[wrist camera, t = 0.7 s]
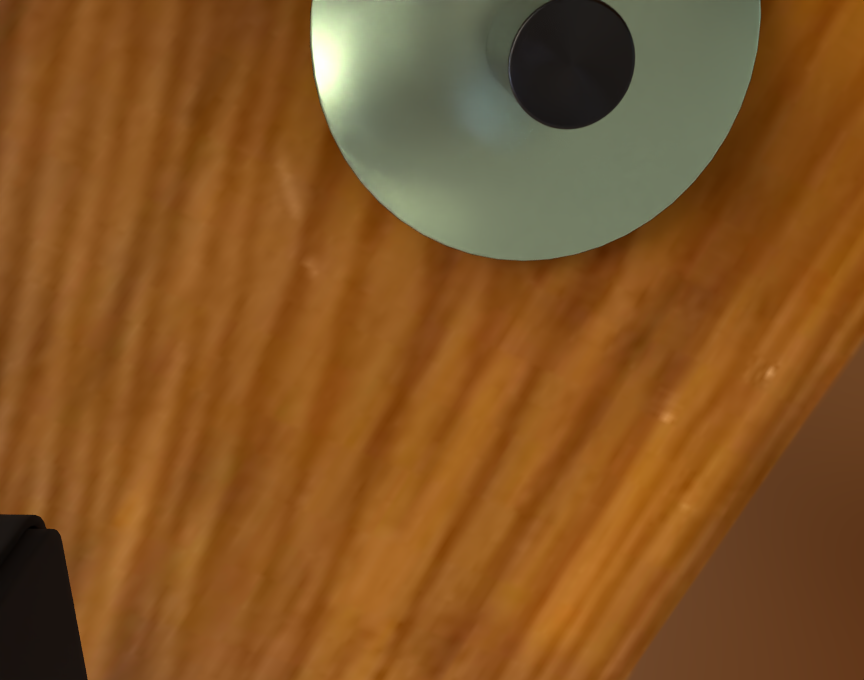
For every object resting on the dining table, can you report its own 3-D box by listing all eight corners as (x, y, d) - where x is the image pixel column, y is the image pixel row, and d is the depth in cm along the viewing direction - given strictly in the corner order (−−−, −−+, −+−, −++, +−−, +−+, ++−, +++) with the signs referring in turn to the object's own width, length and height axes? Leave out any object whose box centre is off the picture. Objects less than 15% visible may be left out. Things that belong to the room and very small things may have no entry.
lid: (414, -308, 22) (414, -437, 15) (832, -84, 24) (991, -110, 17) (256, 159, 27) (205, 217, 20) (617, 306, 29) (677, 401, 22)
